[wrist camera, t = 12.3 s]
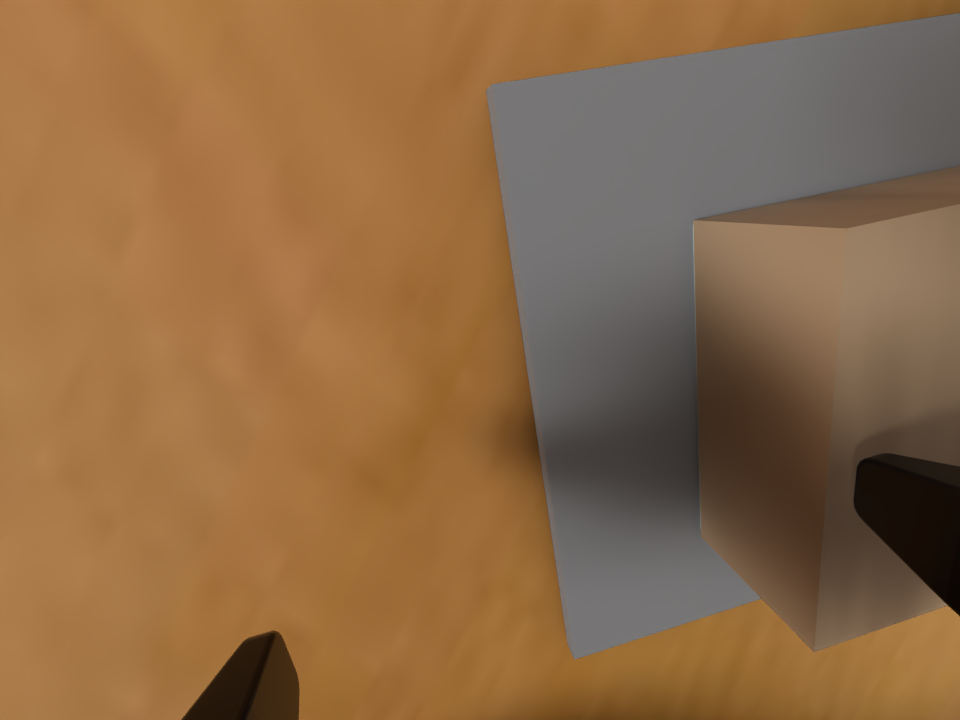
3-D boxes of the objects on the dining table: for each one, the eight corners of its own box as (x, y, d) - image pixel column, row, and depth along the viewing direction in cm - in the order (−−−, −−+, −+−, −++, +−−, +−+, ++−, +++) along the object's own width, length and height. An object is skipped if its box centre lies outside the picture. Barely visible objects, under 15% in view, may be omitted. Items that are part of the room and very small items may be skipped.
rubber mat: (927, 528, 15) (944, 538, 15) (567, 644, 14) (574, 659, 13) (1012, 8, 11) (1040, 0, 10) (486, 90, 9) (491, 84, 9)
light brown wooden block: (696, 532, 13) (922, 465, 14) (813, 652, 9) (1103, 551, 10) (688, 219, 10) (967, 163, 11) (847, 228, 7) (1230, 145, 8)
